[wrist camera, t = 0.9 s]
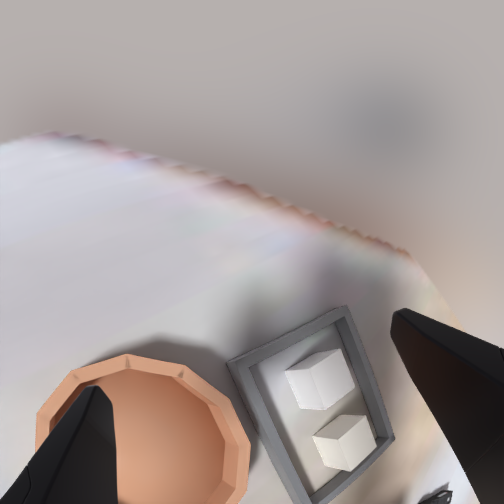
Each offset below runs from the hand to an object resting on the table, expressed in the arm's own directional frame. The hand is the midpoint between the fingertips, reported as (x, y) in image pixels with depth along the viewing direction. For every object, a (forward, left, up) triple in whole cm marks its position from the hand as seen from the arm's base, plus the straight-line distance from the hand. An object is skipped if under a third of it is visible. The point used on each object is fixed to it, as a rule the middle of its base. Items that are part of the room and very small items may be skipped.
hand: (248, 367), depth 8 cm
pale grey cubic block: (-7, -14, -18) cm, 24 cm away
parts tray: (-11, -14, -18) cm, 26 cm away
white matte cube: (-15, -14, -18) cm, 28 cm away
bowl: (-6, +4, -18) cm, 19 cm away
